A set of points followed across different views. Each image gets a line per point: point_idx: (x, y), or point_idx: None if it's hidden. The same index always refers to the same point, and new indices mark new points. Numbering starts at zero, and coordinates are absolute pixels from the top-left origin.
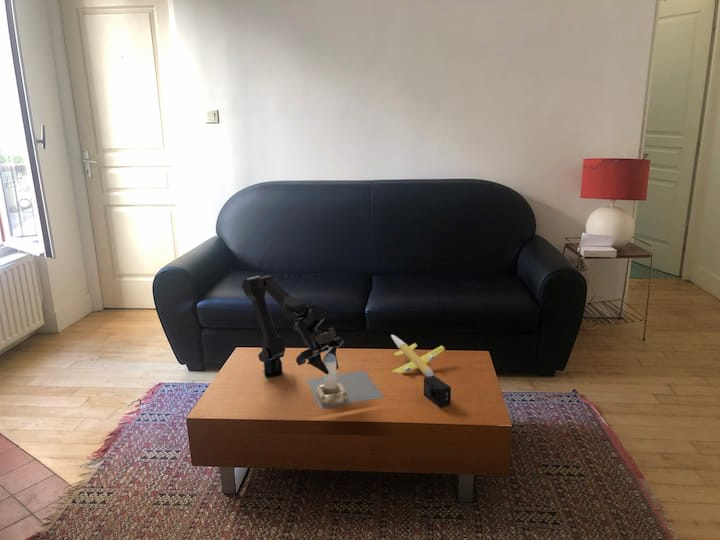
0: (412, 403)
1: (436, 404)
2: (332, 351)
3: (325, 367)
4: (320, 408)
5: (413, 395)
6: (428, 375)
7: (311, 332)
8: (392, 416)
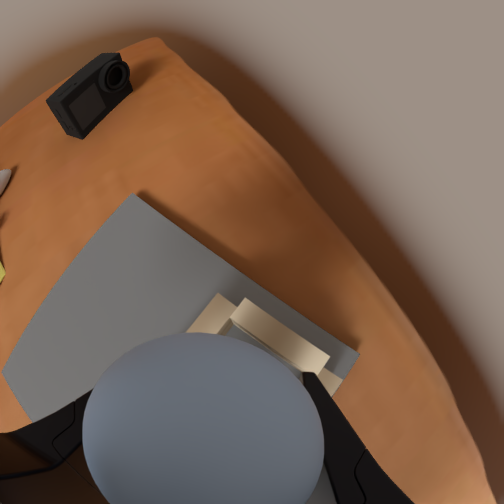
0: (129, 132)
1: (122, 97)
2: (25, 475)
3: (324, 416)
4: (358, 354)
5: (87, 155)
6: (4, 178)
7: None
8: (223, 129)
